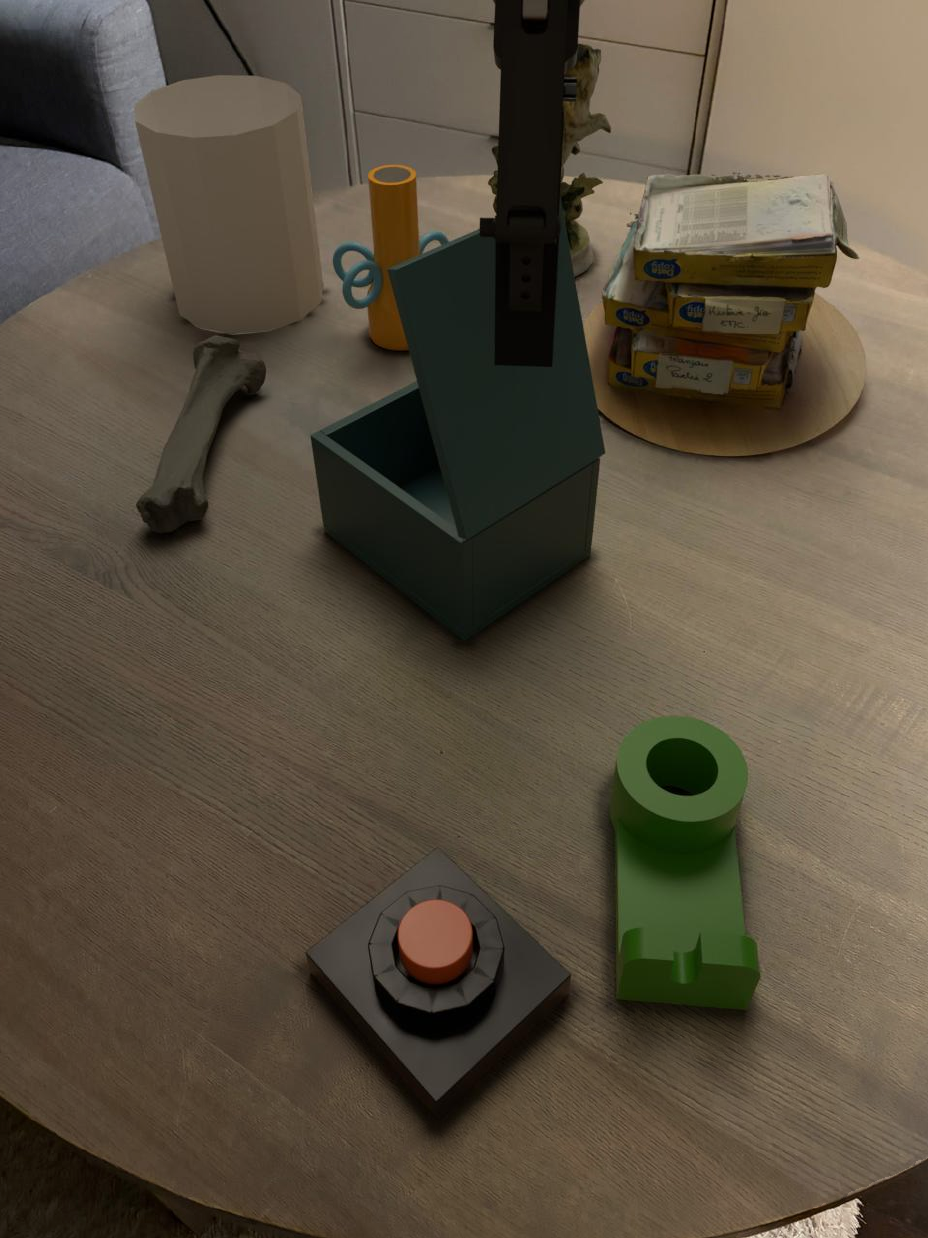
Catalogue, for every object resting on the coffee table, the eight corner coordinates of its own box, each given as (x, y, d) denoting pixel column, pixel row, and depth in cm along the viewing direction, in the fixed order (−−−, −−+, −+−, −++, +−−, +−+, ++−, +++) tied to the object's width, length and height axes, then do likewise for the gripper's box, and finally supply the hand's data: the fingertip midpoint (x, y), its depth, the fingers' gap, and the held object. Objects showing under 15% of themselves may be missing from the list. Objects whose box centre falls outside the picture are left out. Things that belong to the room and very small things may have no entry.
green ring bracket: (609, 760, 63) (616, 711, 60) (727, 767, 63) (741, 719, 60) (610, 998, 53) (619, 956, 50) (752, 1010, 53) (770, 968, 49)
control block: (569, 994, 53) (574, 957, 50) (437, 1120, 49) (434, 1088, 46) (439, 867, 58) (436, 828, 56) (309, 971, 54) (300, 935, 51)
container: (258, 247, 110) (228, 63, 97) (354, 290, 104) (336, 99, 91) (147, 300, 103) (99, 109, 90) (243, 350, 96) (205, 151, 83)
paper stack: (823, 488, 81) (882, 290, 69) (530, 411, 89) (538, 221, 77) (881, 336, 97) (938, 153, 85) (627, 281, 104) (646, 106, 92)
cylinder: (387, 382, 92) (374, 217, 82) (316, 337, 98) (295, 177, 87) (487, 332, 98) (488, 172, 87) (415, 292, 103) (408, 136, 93)
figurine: (622, 256, 108) (644, 45, 94) (527, 299, 102) (534, 82, 88) (546, 218, 114) (555, 15, 100) (451, 257, 108) (447, 47, 94)
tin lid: (386, 268, 56) (395, 269, 55) (551, 196, 61) (560, 196, 61) (458, 537, 64) (466, 540, 64) (597, 451, 70) (605, 453, 69)
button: (488, 951, 51) (488, 934, 50) (432, 1000, 49) (431, 984, 48) (439, 902, 53) (438, 885, 52) (384, 948, 51) (382, 931, 50)
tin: (323, 531, 79) (310, 434, 72) (448, 460, 84) (445, 365, 78) (464, 641, 70) (462, 544, 64) (591, 555, 76) (600, 458, 70)
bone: (203, 378, 93) (188, 316, 89) (275, 379, 93) (264, 318, 88) (129, 542, 78) (107, 478, 74) (215, 545, 78) (198, 480, 73)
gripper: (471, -279, 48) (474, 185, 63) (405, -178, 30) (431, 429, 45) (637, -281, 47) (600, 188, 62) (667, -179, 30) (605, 436, 45)
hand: (529, 290), depth 54 cm, fingers open, 13 cm apart
